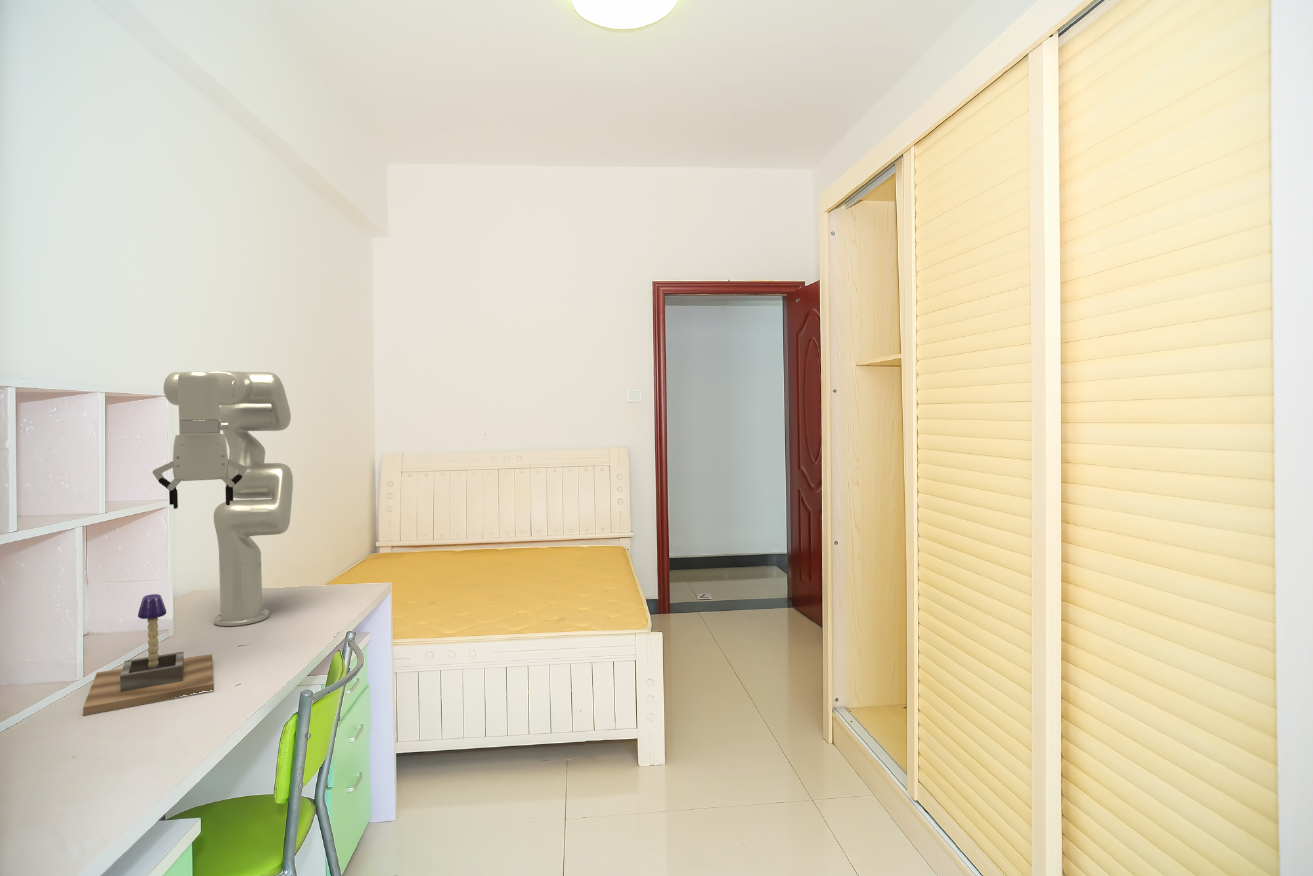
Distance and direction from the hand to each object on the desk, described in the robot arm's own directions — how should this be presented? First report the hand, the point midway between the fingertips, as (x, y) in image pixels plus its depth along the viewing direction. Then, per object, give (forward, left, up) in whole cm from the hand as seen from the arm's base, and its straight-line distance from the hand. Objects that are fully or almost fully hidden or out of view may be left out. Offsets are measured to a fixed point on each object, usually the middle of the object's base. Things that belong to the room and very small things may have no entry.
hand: (202, 506), depth 154 cm
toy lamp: (+10, -9, -33) cm, 36 cm away
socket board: (+11, -9, -34) cm, 37 cm away
